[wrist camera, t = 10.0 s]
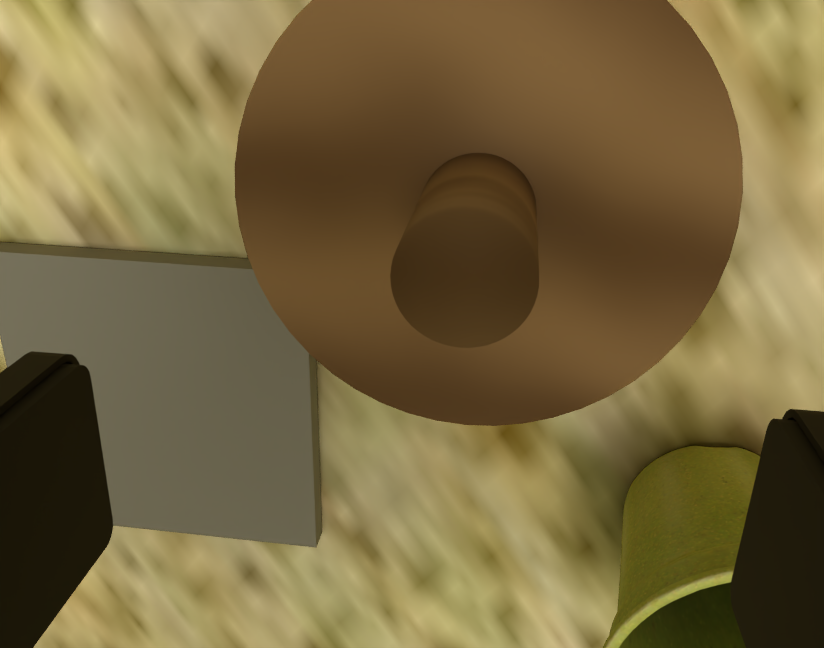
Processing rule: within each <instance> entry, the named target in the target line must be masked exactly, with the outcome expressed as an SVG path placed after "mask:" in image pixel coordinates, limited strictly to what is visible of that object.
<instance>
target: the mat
mask: <svg viewBox="0 0 824 648" xmlns="http://www.w3.org/2000/svg"><path fill="white" fill-rule="evenodd" d="M0 337H1V342H2V346H3V351H4V355H5V360H6V364H7V368H8V367H9V366H10V365H12V364H13V363H14V362H16V361H17V360H18V359H20V358H21V357H22V356H24V355H25V354H27V353H29V352H31V351H34V352H47V353H60V354H72V355H73V356H75V357H76V358H77V360H78V362H79V364H80V365H84V366H86V367H87V368H88V370H89V372H90V376H91V381H92V388H93V394H94V401H95V407H96V414H97V420H98V427H99V433H100V439H101V446H102V452H103V459H104V465H105V472H106V478H107V485H108V491H109V498H110V504H111V511H112V517H113V525H114V526H123V527H132V528H141V529H151V530H160V531H169V532H178V533H188V534H197V535H206V536H215V537H224V538H234V539H243V540H252V541H261V542H271V543H280V544H289V545H298V546H308V547H317V544H318V542H319V539H320V536H321V533H322V513H321V484H320V455H319V427H318V398H317V369H316V359H315V358H314V357H313V356H311V355H310V354H309V353H308V352H307V350H306V349H305V348H304V347H303V346H302V345H301V344H300V343H299V342H298V341H297V340H296V339H295V338H294V336H293V335H292V334H291V333H290V332H289V330H288V329H287V328H286V326H285V325H284V324H283V322H282V321H281V320H280V318H279V317H278V315H277V314H276V313H275V311H274V310H273V308H272V306H271V305H270V303H269V301H268V299H267V298H266V296H265V294H264V292H263V290H262V289H261V287H260V285H259V283H258V281H257V278H256V276H255V273H254V271H253V268H252V266H251V264H250V261H249V259H247V258H232V257H217V256H202V255H187V254H172V253H157V252H142V251H127V250H113V249H98V248H83V247H68V246H53V245H38V244H23V243H8V242H0Z"/></svg>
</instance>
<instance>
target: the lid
mask: <svg viewBox="0 0 824 648" xmlns="http://www.w3.org/2000/svg"><path fill="white" fill-rule="evenodd" d="M742 194H743V176H742V153H741V146H740V139H739V133H738V126H737V122H736V118H735V115H734V112H733V109H732V105H731V102H730V99H729V95H728V92H727V89H726V87H725V85H724V83H723V81H722V79H721V77H720V74H719V72H718V70H717V68H716V66H715V64H714V62H713V60H712V58H711V56H710V55H709V53H708V52H707V50H706V49H705V47H704V46H703V44H702V43H701V41H700V40H699V38H698V37H697V35H696V34H695V32H694V31H693V29H692V28H691V26H690V25H689V24H688V23H687V22H686V21H685V20H684V19H683V18H682V16H681V15H680V14H679V13H678V12H677V11H676V10H675V9H674V8H673V7H672V5H671V4H670V3H669V2H668V1H667V0H312V1H311V2H310V3H309V4H308V5H307V6H306V7H305V8H304V9H303V10H302V11H301V12H300V13H299V14H298V15H297V16H296V17H295V19H294V20H293V21H292V22H291V24H290V25H289V26H288V27H287V29H286V30H285V31H284V33H283V34H282V35H281V36H280V38H279V39H278V40H277V42H276V43H275V45H274V47H273V48H272V50H271V52H270V54H269V55H268V57H267V59H266V61H265V62H264V64H263V66H262V67H261V69H260V71H259V73H258V76H257V78H256V81H255V83H254V86H253V88H252V90H251V93H250V95H249V98H248V100H247V103H246V107H245V111H244V115H243V119H242V123H241V126H240V130H239V135H238V144H237V152H236V160H235V198H236V205H237V212H238V220H239V227H240V230H241V234H242V238H243V242H244V245H245V249H246V253H247V256H248V259H249V261H250V264H251V266H252V268H253V271H254V273H255V276H256V278H257V281H258V283H259V285H260V287H261V289H262V290H263V292H264V294H265V296H266V298H267V299H268V301H269V303H270V305H271V306H272V308H273V310H274V311H275V313H276V314H277V315H278V317H279V318H280V320H281V321H282V322H283V324H284V325H285V326H286V328H287V329H288V330H289V332H290V333H291V334H292V335H293V336H294V338H295V339H296V340H297V341H298V342H299V343H300V344H301V345H302V346H303V347H304V348H305V349H306V350H307V352H308V353H309V354H310V355H311V356H313V357H314V358H315V359H316V360H317V361H318V362H320V363H321V364H322V365H323V366H324V367H325V368H327V369H328V370H329V371H330V372H331V373H332V374H334V375H335V376H337V377H338V378H340V379H341V380H343V381H344V382H346V383H347V384H349V385H350V386H352V387H353V388H355V389H356V390H358V391H360V392H362V393H364V394H366V395H368V396H370V397H372V398H373V399H375V400H377V401H379V402H381V403H384V404H386V405H389V406H391V407H394V408H397V409H399V410H402V411H404V412H407V413H410V414H414V415H418V416H421V417H425V418H429V419H433V420H437V421H444V422H450V423H457V424H464V425H491V426H496V425H508V424H521V423H528V422H533V421H538V420H543V419H548V418H553V417H556V416H559V415H562V414H566V413H569V412H572V411H575V410H578V409H581V408H584V407H586V406H588V405H590V404H592V403H595V402H597V401H599V400H601V399H604V398H606V397H608V396H610V395H611V394H613V393H615V392H616V391H618V390H620V389H621V388H623V387H625V386H626V385H628V384H630V383H632V382H633V381H635V380H636V379H637V378H639V377H640V376H641V375H642V374H644V373H645V372H646V371H648V370H649V369H650V368H651V367H653V366H654V365H655V364H657V363H658V362H659V361H660V360H661V359H662V358H663V357H664V356H665V355H666V354H667V353H668V352H669V351H670V350H671V349H672V348H673V347H674V346H675V345H676V344H677V343H678V342H679V341H680V340H681V339H682V338H683V336H684V335H685V334H686V333H687V331H688V330H689V329H690V328H691V326H692V325H693V324H694V322H695V321H696V320H697V319H698V317H699V316H700V315H701V313H702V311H703V310H704V308H705V306H706V305H707V303H708V301H709V299H710V298H711V296H712V294H713V293H714V291H715V289H716V288H717V285H718V283H719V281H720V278H721V276H722V274H723V271H724V269H725V267H726V264H727V262H728V260H729V257H730V254H731V250H732V246H733V243H734V239H735V236H736V232H737V228H738V223H739V216H740V208H741V201H742Z"/></svg>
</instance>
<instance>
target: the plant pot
mask: <svg viewBox="0 0 824 648" xmlns="http://www.w3.org/2000/svg"><path fill="white" fill-rule="evenodd" d="M759 460H760V456H758V455H757V454H755V453H753V452H750V451H748V450H745V449H742V448H738V447H731V448H722V447H703V446H688V447H684V448H680V449H677V450H674V451H672V452H669V453H667V454H665V455H663V456H661V457H659V458H658V459H656V460H654V461H653V462H652V463H650V464H649V465H648V466H647V467H645V468H644V469H643V470H642V472H641V473H640V474H639V475H638V476H637V477H636V478H635V480H634V481H633V483H632V484H631V486H630V488H629V490H628V493H627V497H626V500H625V505H624V511H623V526H622V550H621V568H620V584H619V598H618V612H617V614H616V616H615V618H614V621H613V623H612V627H611V630H610V635H609V637H608V638H607V640H606V642H605V644H604V646H603V648H746V646H745V643H744V641H743V638H742V635H741V632H740V629H739V626H738V624H737V621H736V618H735V615H734V612H733V609H732V605H731V595H730V589H731V580H732V575H733V571H734V567H735V563H736V558H737V554H738V550H739V546H740V541H741V537H742V533H743V529H744V524H745V520H746V516H747V511H748V507H749V503H750V499H751V494H752V490H753V486H754V482H755V477H756V473H757V469H758V465H759Z"/></svg>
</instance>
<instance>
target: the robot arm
mask: <svg viewBox="0 0 824 648" xmlns="http://www.w3.org/2000/svg"><path fill="white" fill-rule="evenodd" d="M112 529H113V517H112V511H111V504H110V498H109V491H108V485H107V478H106V472H105V465H104V459H103V452H102V446H101V439H100V433H99V427H98V420H97V414H96V407H95V401H94V394H93V388H92V381H91V376H90V372H89V370H88V368H87V367H86V366H84V365H80V364H79V362H78V360H77V358H76V357H75V356H73V355H72V354H60V353H47V352H34V351H31V352H29V353H27V354H25V355H24V356H22V357H21V358H20V359H18V360H17V361H16V362H14V363H13V364H12V365H10V366H9V367H8V368H6V369H5V370H4V371H2V372H1V373H0V648H33V647H34V645H35V644H36V643H37V641H38V640H39V639H40V637H41V636H42V634H43V633H44V632H45V630H46V629H47V628H48V626H49V625H50V624H51V622H52V621H53V619H54V618H55V617H56V615H57V614H58V613H59V611H60V610H61V608H62V607H63V606H64V604H65V603H66V602H67V600H68V599H69V597H70V596H71V595H72V593H73V592H74V591H75V589H76V588H77V587H78V585H79V584H80V582H81V581H82V580H83V578H84V577H85V576H86V574H87V573H88V571H89V570H90V569H91V567H92V566H93V565H94V563H95V562H96V561H97V559H98V558H99V556H100V555H101V554H102V552H103V551H104V550H105V548H106V547H107V545H108V543H109V541H110V538H111V534H112ZM730 595H731V605H732V609H733V612H734V615H735V618H736V621H737V624H738V626H739V629H740V632H741V635H742V638H743V641H744V643H745V646H746V648H824V412H820V411H807V410H794V409H790V410H788V411H787V412H786V413H785V415H784V416H783V419H772V420H771V421H770V423H769V425H768V427H767V431H766V435H765V439H764V443H763V448H762V452H761V456H760V460H759V465H758V469H757V473H756V477H755V482H754V486H753V490H752V494H751V499H750V503H749V507H748V511H747V516H746V520H745V524H744V529H743V533H742V537H741V541H740V546H739V550H738V554H737V558H736V563H735V567H734V571H733V575H732V580H731V589H730Z"/></svg>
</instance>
